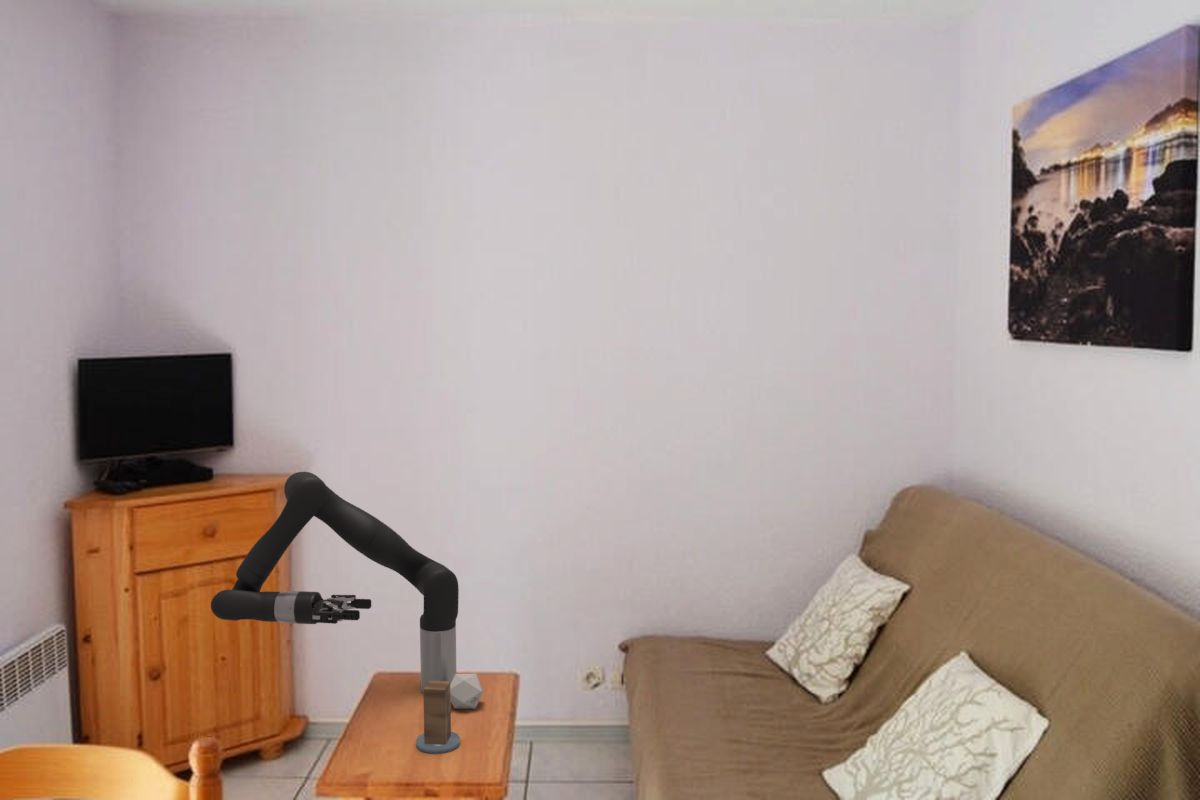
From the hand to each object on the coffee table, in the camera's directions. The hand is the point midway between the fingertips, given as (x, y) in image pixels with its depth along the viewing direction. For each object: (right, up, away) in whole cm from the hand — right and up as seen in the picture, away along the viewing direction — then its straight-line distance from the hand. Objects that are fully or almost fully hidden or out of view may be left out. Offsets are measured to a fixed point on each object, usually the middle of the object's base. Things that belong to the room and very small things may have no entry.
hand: (365, 609), depth 256 cm
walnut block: (+18, -29, -3) cm, 34 cm away
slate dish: (+18, -30, -3) cm, 35 cm away
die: (+21, -28, +19) cm, 40 cm away
